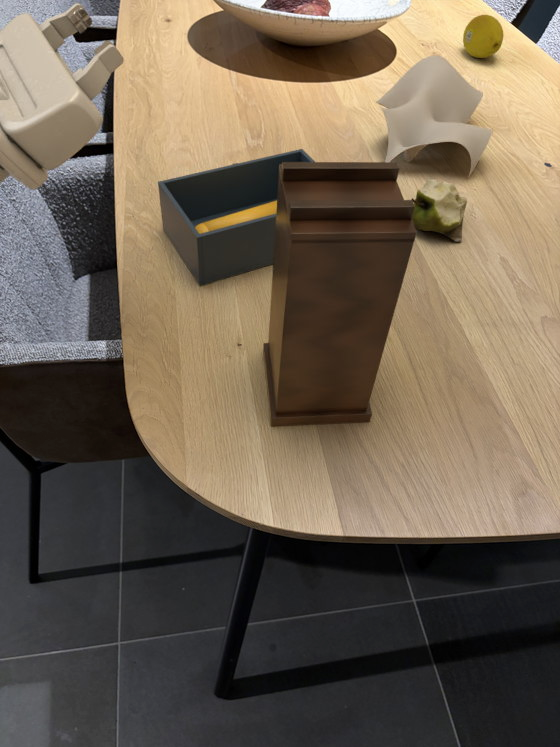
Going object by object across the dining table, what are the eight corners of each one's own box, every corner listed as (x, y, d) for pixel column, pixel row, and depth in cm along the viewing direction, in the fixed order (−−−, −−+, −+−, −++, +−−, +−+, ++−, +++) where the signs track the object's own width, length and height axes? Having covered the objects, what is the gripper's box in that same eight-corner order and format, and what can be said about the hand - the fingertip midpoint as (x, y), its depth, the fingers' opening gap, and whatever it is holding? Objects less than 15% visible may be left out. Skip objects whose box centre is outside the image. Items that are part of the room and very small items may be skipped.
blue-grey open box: (199, 286, 79) (196, 237, 73) (163, 230, 86) (157, 181, 80) (342, 243, 87) (350, 196, 81) (297, 195, 94) (302, 148, 88)
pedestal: (270, 426, 65) (286, 224, 45) (262, 351, 72) (273, 148, 52) (370, 422, 66) (428, 223, 46) (352, 348, 73) (397, 148, 53)
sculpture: (488, 182, 99) (509, 125, 92) (374, 172, 99) (386, 114, 92) (468, 110, 116) (484, 57, 108) (370, 101, 116) (379, 47, 108)
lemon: (454, 46, 136) (464, 6, 129) (487, 47, 136) (499, 8, 130) (466, 67, 129) (478, 26, 122) (501, 68, 129) (515, 28, 123)
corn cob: (200, 262, 81) (198, 237, 78) (187, 246, 83) (184, 221, 80) (311, 225, 87) (313, 201, 85) (297, 212, 90) (298, 187, 87)
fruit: (411, 252, 88) (412, 203, 83) (400, 219, 95) (401, 171, 89) (475, 244, 87) (480, 194, 82) (460, 211, 94) (464, 163, 88)
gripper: (-7, 101, 66) (90, 18, 65) (40, 200, 55) (158, 102, 54) (-56, 53, 61) (48, -38, 60) (-15, 151, 50) (114, 42, 49)
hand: (101, 29), depth 57 cm, fingers open, 8 cm apart
